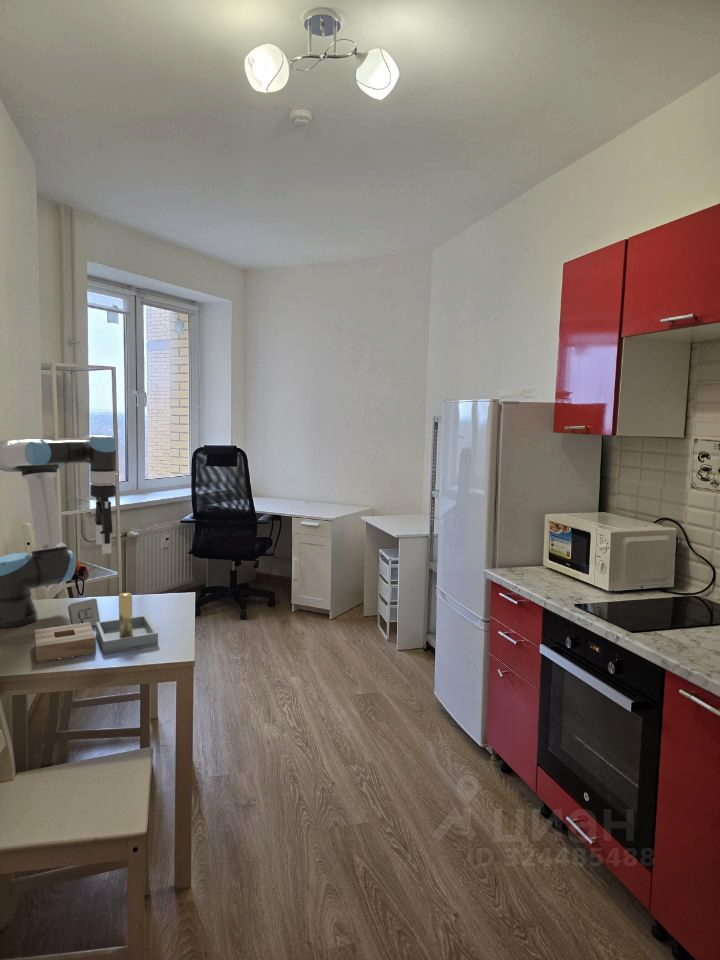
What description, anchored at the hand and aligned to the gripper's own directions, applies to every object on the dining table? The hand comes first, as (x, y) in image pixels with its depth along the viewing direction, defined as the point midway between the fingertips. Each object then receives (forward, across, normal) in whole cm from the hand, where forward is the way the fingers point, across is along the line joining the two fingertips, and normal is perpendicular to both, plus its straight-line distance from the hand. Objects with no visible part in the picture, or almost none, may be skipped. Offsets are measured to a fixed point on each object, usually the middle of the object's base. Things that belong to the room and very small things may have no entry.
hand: (103, 548), depth 193 cm
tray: (+29, -6, -6) cm, 31 cm away
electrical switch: (+30, +14, +5) cm, 34 cm away
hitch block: (+30, -6, +12) cm, 33 cm away
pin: (+28, -6, -6) cm, 30 cm away
